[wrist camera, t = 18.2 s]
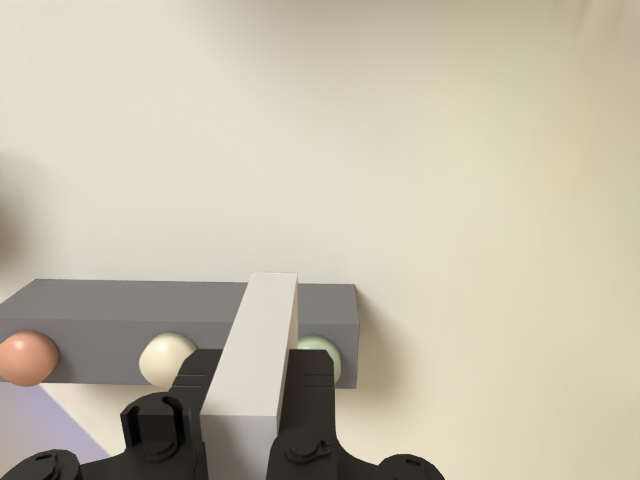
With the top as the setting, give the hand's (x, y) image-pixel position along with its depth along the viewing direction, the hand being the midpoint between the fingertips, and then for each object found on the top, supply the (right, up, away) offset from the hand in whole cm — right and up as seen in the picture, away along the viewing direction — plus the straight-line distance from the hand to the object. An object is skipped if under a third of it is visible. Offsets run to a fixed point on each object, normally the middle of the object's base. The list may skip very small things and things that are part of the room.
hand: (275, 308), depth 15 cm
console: (-12, -5, +34) cm, 36 cm away
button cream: (-12, -8, +28) cm, 31 cm away
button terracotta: (-25, -7, +28) cm, 38 cm away
